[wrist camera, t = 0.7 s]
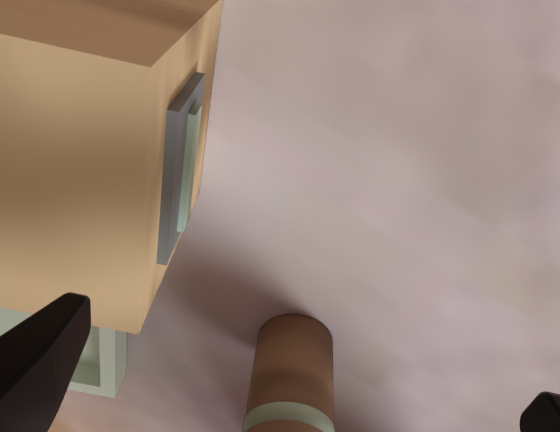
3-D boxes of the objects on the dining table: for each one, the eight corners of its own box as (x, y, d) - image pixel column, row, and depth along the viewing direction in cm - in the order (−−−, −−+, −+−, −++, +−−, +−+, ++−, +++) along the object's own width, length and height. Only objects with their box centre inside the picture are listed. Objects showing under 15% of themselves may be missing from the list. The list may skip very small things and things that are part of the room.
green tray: (125, 372, 28) (115, 398, 27) (-46, 339, 28) (-66, 363, 26) (129, 224, 22) (115, 248, 20) (-92, 178, 21) (-122, 199, 20)
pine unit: (210, 195, 21) (155, 338, 14) (-82, 133, 20) (-284, 251, 13) (237, -1, 16) (175, 73, 9) (-139, -88, 15) (-487, -76, 9)
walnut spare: (322, 372, 27) (321, 504, 21) (251, 357, 26) (229, 487, 21) (342, 322, 24) (347, 456, 18) (264, 306, 24) (244, 436, 18)
